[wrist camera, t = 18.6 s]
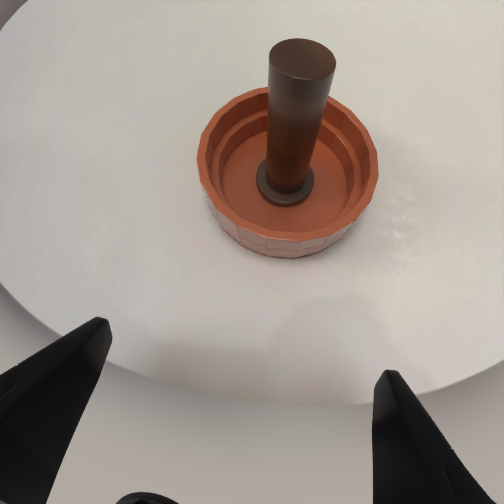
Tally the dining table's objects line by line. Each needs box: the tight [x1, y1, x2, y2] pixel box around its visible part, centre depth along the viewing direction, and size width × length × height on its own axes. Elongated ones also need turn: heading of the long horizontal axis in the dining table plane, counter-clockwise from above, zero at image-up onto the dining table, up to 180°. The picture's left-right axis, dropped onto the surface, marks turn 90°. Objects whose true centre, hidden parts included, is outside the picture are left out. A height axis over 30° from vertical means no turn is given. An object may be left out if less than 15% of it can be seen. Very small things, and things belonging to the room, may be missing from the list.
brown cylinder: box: [256, 38, 336, 207], centre depth 19 cm, size 4×4×13 cm
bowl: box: [197, 87, 378, 258], centre depth 23 cm, size 12×12×5 cm
